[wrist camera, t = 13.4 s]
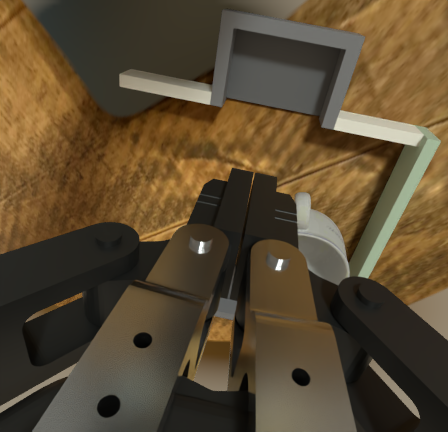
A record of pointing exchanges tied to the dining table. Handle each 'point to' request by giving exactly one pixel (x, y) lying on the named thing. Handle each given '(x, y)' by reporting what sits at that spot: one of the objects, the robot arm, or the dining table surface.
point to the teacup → (320, 242)
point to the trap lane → (302, 104)
